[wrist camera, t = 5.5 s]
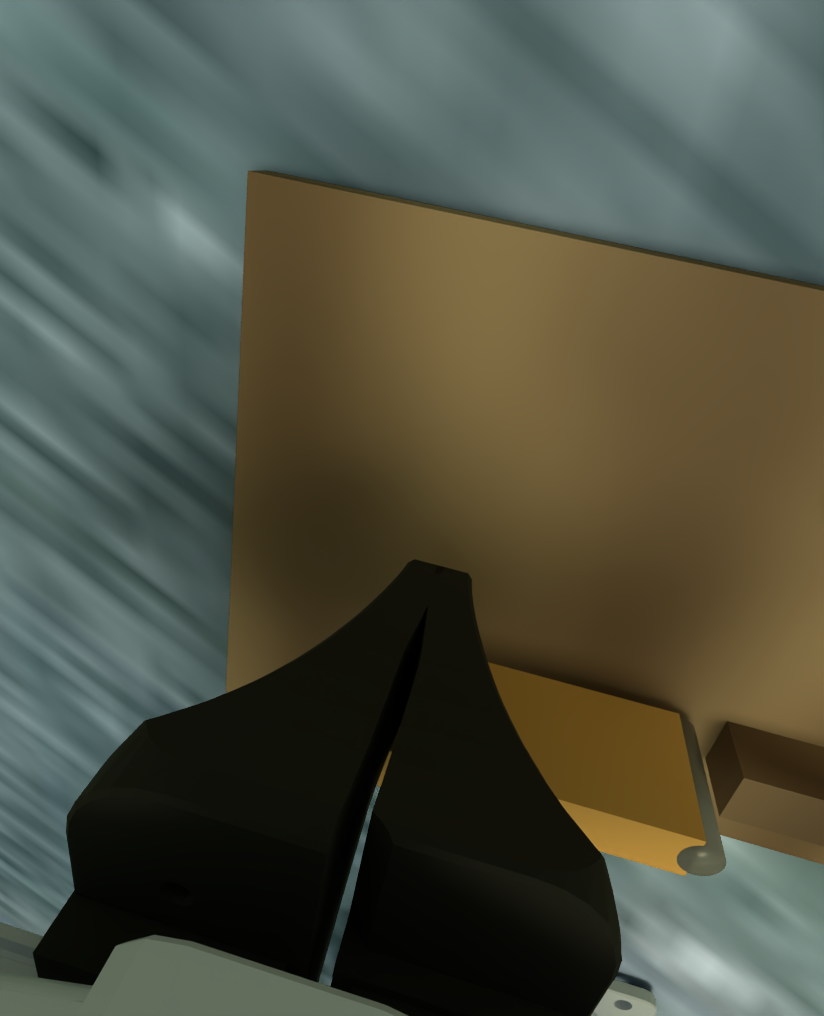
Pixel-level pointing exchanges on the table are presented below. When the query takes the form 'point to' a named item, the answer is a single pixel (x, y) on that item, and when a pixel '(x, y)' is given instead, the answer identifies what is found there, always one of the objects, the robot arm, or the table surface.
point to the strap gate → (617, 771)
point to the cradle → (543, 467)
